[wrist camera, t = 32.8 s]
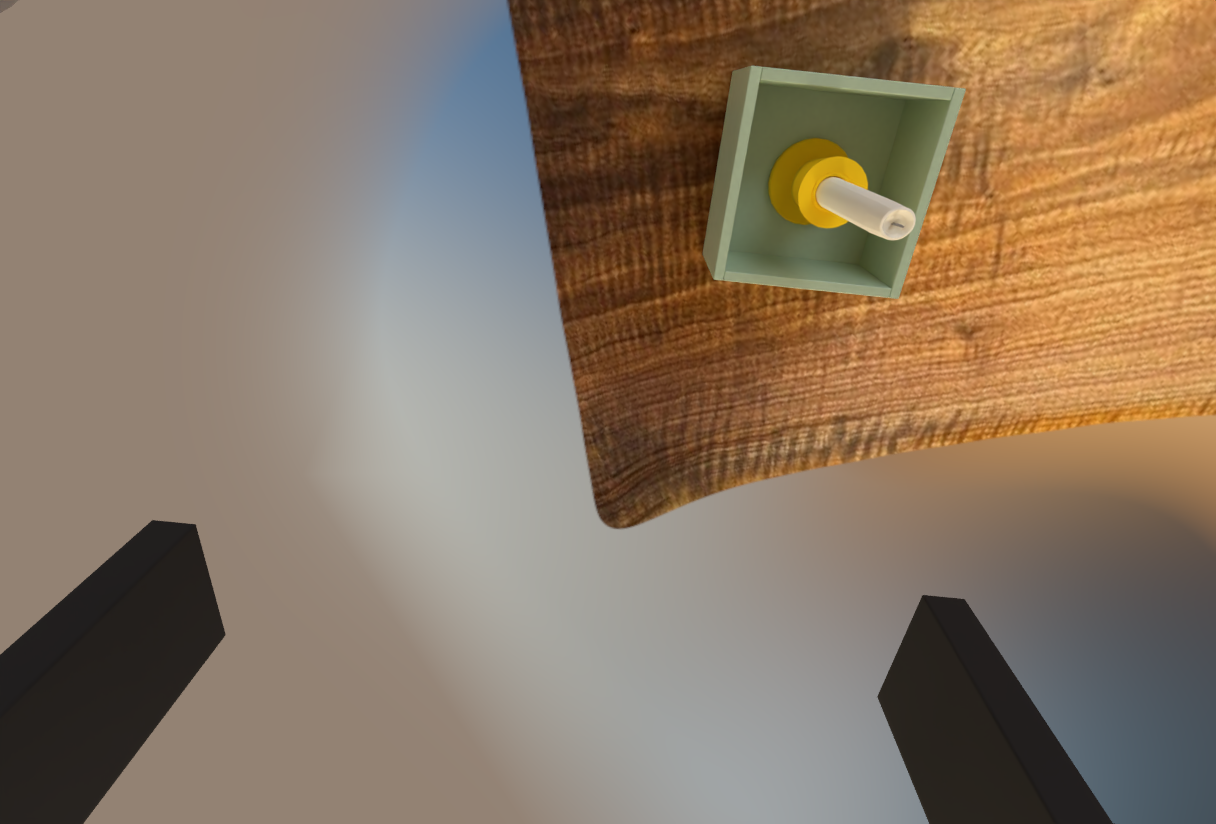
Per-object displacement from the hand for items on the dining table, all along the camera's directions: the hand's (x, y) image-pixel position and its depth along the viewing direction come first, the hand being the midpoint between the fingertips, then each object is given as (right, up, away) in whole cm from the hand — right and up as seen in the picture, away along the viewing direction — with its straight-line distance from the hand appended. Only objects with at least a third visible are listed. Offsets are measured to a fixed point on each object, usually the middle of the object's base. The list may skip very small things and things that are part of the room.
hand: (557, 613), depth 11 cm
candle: (+14, +19, +28) cm, 36 cm away
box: (+14, +19, +28) cm, 37 cm away
